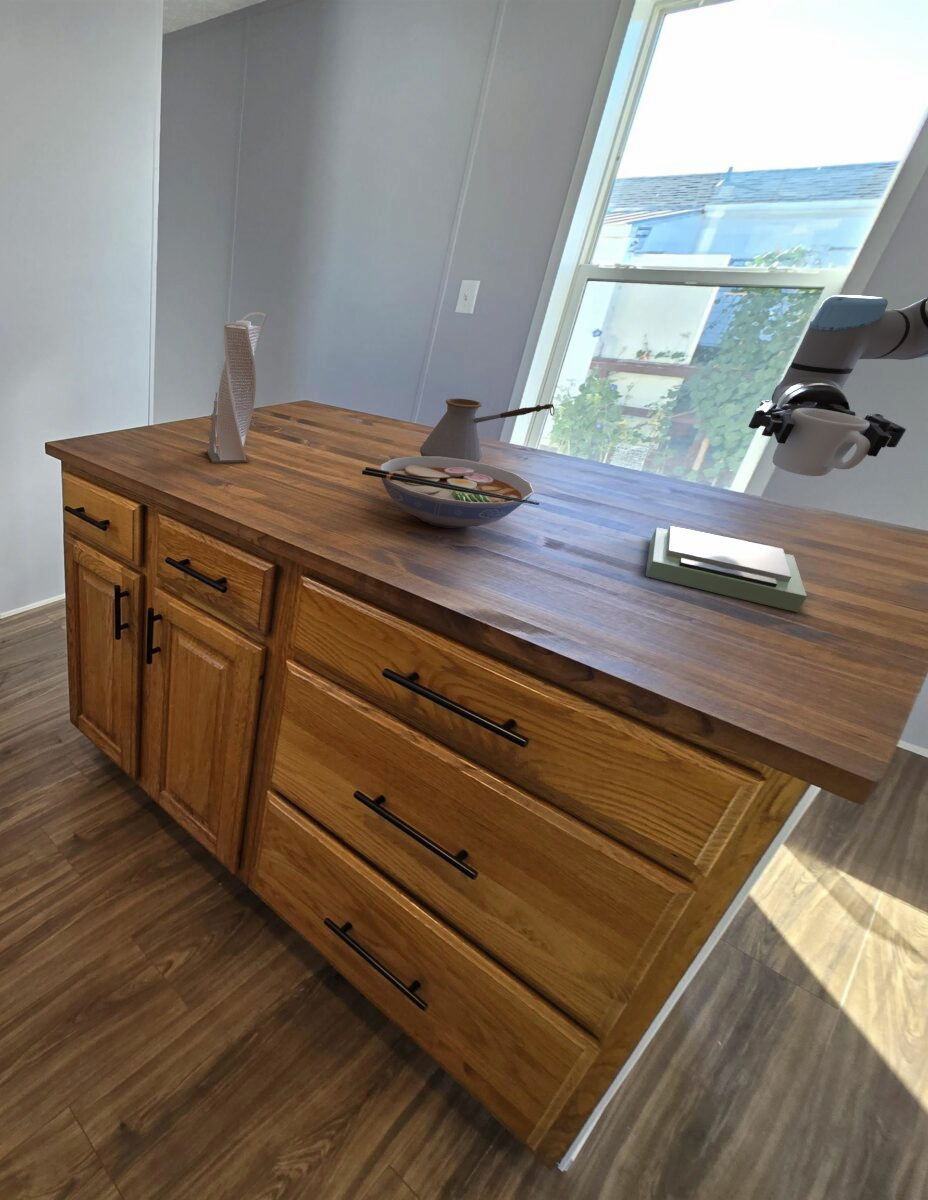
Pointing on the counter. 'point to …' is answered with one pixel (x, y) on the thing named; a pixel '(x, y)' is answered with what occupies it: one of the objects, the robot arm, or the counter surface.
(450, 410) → the coffee pot
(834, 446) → the cup
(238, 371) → the skyscraper
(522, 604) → the counter surface
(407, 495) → the ramen bowl
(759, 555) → the scale
